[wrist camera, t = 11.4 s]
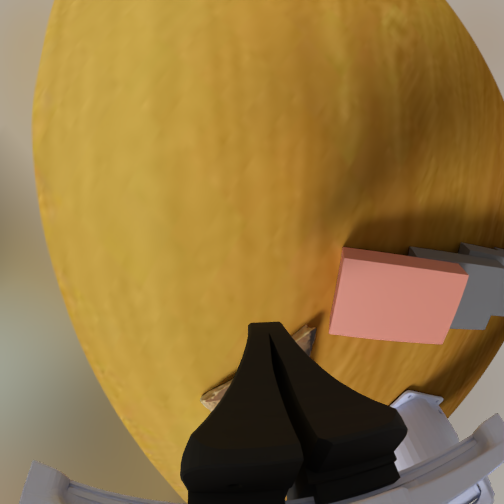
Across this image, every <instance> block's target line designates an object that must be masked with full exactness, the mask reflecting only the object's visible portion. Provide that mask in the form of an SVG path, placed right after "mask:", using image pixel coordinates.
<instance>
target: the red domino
mask: <svg viewBox="0 0 504 504" xmlns="http://www.w3.org/2000/svg"><path fill="white" fill-rule="evenodd" d="M468 277H469V275H468V274H467V273H466V271H465V270H464V269H463V268H462V267H461V266H460V265H459V264H458V263H451V262H445V261H438V260H432V259H425V258H418V257H412V256H405V255H398V254H391V253H384V252H377V251H370V250H363V249H356V248H348V247H343V249H342V255H341V262H340V268H339V273H338V279H337V284H336V290H335V295H334V300H333V305H332V310H331V315H330V324H329V334H334V335H342V336H350V337H359V338H368V339H378V340H388V341H399V342H412V343H427V344H443V342H444V339H445V337H446V335H447V333H448V330H449V328H450V326H451V323H452V321H453V319H454V316H455V314H456V311H457V309H458V306H459V303H460V301H461V298H462V295H463V292H464V289H465V286H466V283H467V280H468Z"/></svg>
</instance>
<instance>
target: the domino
mask: <svg viewBox="0 0 504 504" xmlns="http://www.w3.org/2000/svg"><path fill="white" fill-rule="evenodd" d="M408 256H412V257H418V258H425V259H432V260H438V261H445V262H451V263H458V264H459V265H460V266H461V267H462V268H463V269H464V270H465V271H466V273H467V274H468V275H469V277H468V280H467V283H466V286H465V289H464V292H463V295H462V298H461V301H460V303H459V306H458V309H457V311H456V314H455V316H454V319H453V321H452V323H451V326H450V328H452V329H478V330H485V328H486V326H487V323H488V321H489V319H490V316H491V314H492V312H493V309H494V307H495V304H496V301H497V299H498V296H499V293H500V291H501V288H502V285H503V282H504V266H503V265H502V264H501V263H500V262H499V261H497V260H495V259H489V258H483V257H477V256H471V255H464V254H458V253H451V252H445V251H438V250H431V249H424V248H417V247H409V252H408Z"/></svg>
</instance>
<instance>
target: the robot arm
mask: <svg viewBox="0 0 504 504" xmlns="http://www.w3.org/2000/svg"><path fill="white" fill-rule="evenodd" d="M442 401H443V398H442V397H439V396H434V395H429V394H425V393H420V392H416V391H411V390H407V391H405V392H404V393H403V394H402V395H401V396H400V397H399V398H398V399H397V400H396V401H395V402H393V403H392V404H391V405H390V406H387V405H385V404H382V403H379V402H377V401H374V400H372V399H370V398H368V397H366V396H364V395H362V394H360V393H358V392H356V391H354V390H352V389H351V388H349V387H347V386H346V385H344V384H343V383H341V382H339V381H338V380H336V379H335V378H334V377H332V376H331V375H330V374H328V373H327V372H326V371H325V370H323V369H322V368H321V367H320V366H319V365H318V364H317V363H316V362H315V361H313V360H312V359H311V358H310V357H309V356H308V355H307V354H306V353H305V351H304V350H303V349H302V348H301V347H300V346H299V345H298V344H297V343H296V341H295V340H294V339H293V338H292V337H291V335H290V334H289V333H288V332H287V330H286V329H285V328H284V326H283V325H282V324H281V323H280V322H263V323H250V324H249V325H248V339H247V344H246V347H245V351H244V354H243V357H242V360H241V362H240V365H239V367H238V370H237V372H236V374H235V376H234V378H233V380H232V382H231V384H230V386H229V387H228V389H227V391H226V392H225V394H224V396H223V397H222V399H221V400H220V402H219V403H218V404H217V406H216V407H215V408H214V410H213V411H212V412H211V413H210V415H209V416H208V417H207V418H206V420H205V421H204V422H203V423H202V424H201V425H200V426H199V427H198V428H197V429H196V430H195V431H194V432H193V433H192V434H191V436H190V438H189V440H188V443H187V445H186V448H185V450H184V453H183V456H182V461H181V471H180V476H181V480H182V481H183V483H184V485H185V486H186V488H187V490H188V504H469V503H471V502H472V501H473V500H475V499H477V500H476V501H475V502H474V503H472V504H493V501H494V498H493V497H494V495H495V493H494V491H493V489H492V487H491V483H490V481H489V479H488V477H487V476H488V475H489V474H490V473H492V472H493V471H494V470H495V469H496V468H497V467H499V466H500V465H501V464H502V463H503V462H504V422H503V420H502V418H501V417H500V416H499V414H498V413H496V414H495V415H493V416H492V417H490V418H489V419H487V420H486V421H484V422H483V423H482V424H481V425H480V426H479V427H478V428H477V429H476V430H475V431H474V432H473V434H472V435H471V436H469V437H467V438H466V439H464V440H462V441H461V442H459V438H458V435H457V433H456V432H455V430H454V428H453V427H452V425H451V424H450V422H449V420H448V419H447V417H446V416H445V414H444V413H443V411H442V410H441V408H440V407H439V404H440V403H441V402H442ZM477 483H478V484H477ZM478 485H479V486H478ZM479 487H480V488H479ZM480 489H481V490H480ZM286 495H287V501H285V497H286ZM19 504H185V503H174V502H165V501H157V500H150V499H144V498H138V497H133V496H128V495H123V494H119V493H115V492H110V491H106V490H103V489H99V488H95V487H92V486H89V485H85V484H82V483H79V482H76V481H73V480H70V479H69V478H68V477H67V476H66V475H65V474H64V473H62V472H61V471H59V470H57V469H55V468H53V467H50V466H48V465H45V464H43V463H41V462H38V461H36V460H33V462H32V464H31V467H30V470H29V473H28V476H27V479H26V482H25V485H24V488H23V491H22V495H21V498H20V502H19Z"/></svg>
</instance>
